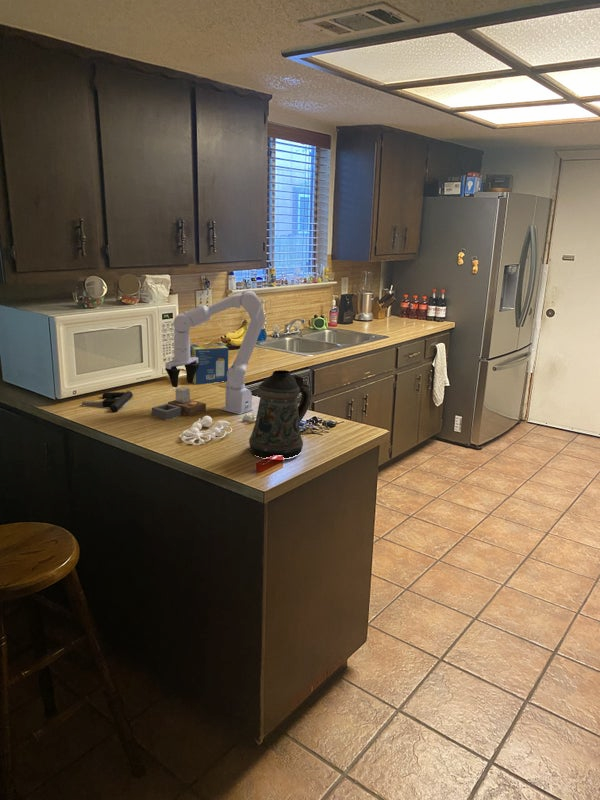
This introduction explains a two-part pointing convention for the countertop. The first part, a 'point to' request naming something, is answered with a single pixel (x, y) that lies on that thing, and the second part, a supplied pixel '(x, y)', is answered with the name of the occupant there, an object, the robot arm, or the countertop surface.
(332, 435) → the countertop surface
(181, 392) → the steel peg
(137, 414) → the countertop surface
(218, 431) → the tangled rod sculpture
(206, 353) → the protein box
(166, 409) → the grey square frame
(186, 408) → the socket block
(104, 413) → the countertop surface
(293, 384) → the beer stein
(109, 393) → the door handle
